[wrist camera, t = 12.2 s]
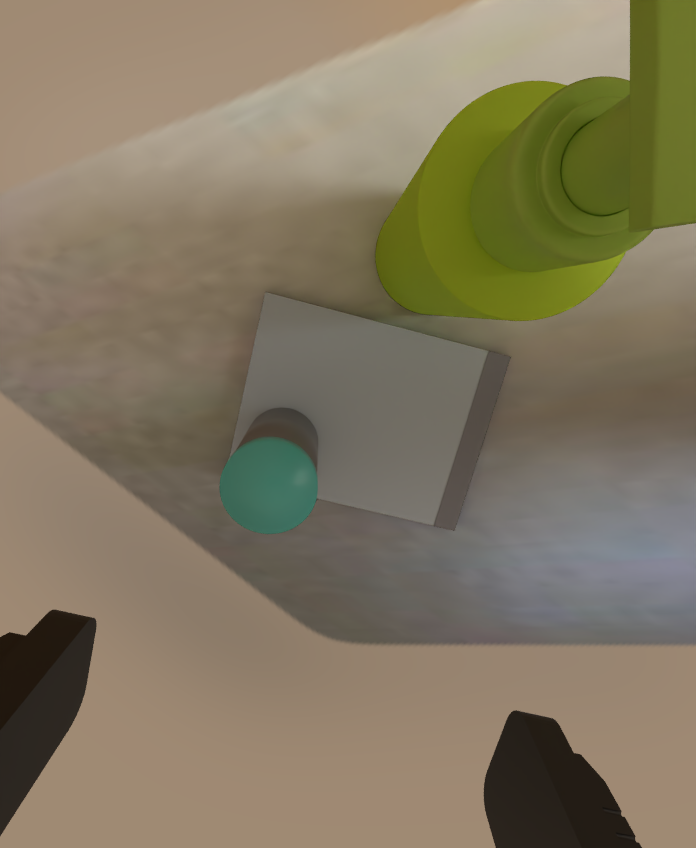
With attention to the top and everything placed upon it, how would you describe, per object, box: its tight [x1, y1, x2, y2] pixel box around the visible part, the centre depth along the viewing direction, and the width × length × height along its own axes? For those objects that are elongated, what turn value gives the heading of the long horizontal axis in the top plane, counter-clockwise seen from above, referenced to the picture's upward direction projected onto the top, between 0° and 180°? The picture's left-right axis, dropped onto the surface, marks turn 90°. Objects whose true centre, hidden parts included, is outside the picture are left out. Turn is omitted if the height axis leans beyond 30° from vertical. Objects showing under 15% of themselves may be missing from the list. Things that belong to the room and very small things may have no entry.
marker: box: [220, 408, 318, 534], centre depth 24 cm, size 4×4×7 cm
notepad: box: [229, 292, 511, 531], centre depth 28 cm, size 13×10×1 cm
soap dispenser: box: [375, 0, 696, 321], centre depth 16 cm, size 6×7×20 cm
